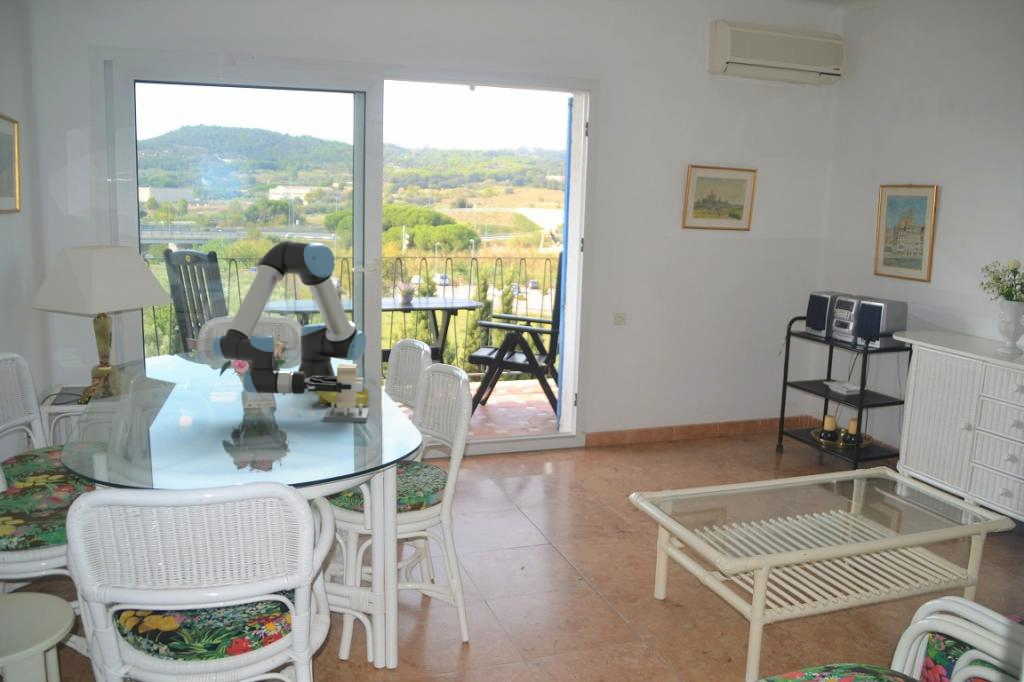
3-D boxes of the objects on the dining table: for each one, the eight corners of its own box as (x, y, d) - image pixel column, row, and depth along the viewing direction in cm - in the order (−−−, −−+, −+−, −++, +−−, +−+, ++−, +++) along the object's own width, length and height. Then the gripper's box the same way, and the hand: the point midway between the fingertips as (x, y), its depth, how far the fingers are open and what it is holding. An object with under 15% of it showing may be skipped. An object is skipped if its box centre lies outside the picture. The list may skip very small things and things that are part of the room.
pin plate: (327, 411, 282) (327, 399, 282) (368, 412, 284) (368, 399, 283) (323, 421, 271) (323, 408, 270) (366, 422, 272) (366, 409, 271)
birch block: (338, 403, 279) (339, 363, 277) (356, 404, 280) (357, 364, 277) (336, 408, 273) (337, 367, 271) (354, 408, 274) (355, 367, 271)
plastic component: (364, 392, 303) (369, 386, 294) (364, 411, 301) (368, 406, 292) (309, 389, 296) (313, 383, 287) (309, 409, 294) (312, 404, 285)
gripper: (296, 386, 283) (364, 388, 286) (287, 400, 264) (359, 402, 267) (296, 365, 282) (364, 367, 284) (287, 377, 263) (360, 379, 266)
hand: (362, 384), depth 276 cm, fingers closed on birch block, 6 cm apart
